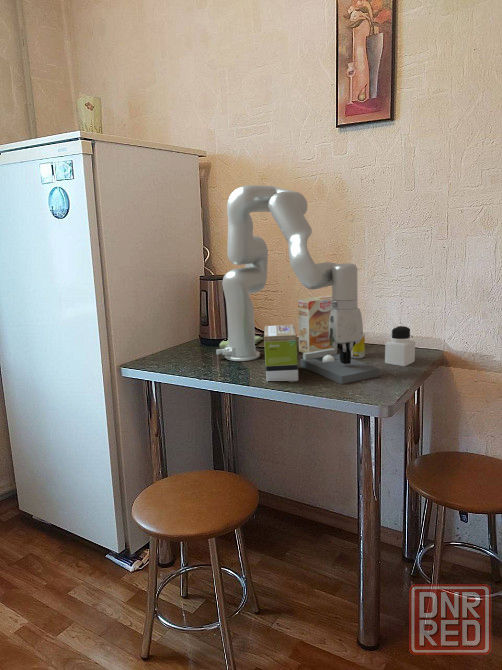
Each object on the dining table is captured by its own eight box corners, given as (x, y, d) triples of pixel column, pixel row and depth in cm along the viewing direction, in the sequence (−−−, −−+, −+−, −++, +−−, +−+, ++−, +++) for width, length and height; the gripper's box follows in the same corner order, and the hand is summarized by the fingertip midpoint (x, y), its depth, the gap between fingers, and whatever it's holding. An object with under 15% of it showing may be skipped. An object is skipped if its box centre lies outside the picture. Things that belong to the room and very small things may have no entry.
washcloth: (264, 341, 214) (264, 333, 213) (248, 351, 198) (247, 343, 197) (234, 339, 218) (234, 332, 218) (216, 350, 203) (216, 341, 202)
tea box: (265, 368, 173) (264, 324, 170) (296, 367, 173) (295, 323, 170) (265, 382, 159) (263, 335, 155) (299, 381, 158) (297, 333, 155)
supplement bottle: (367, 356, 182) (368, 327, 180) (357, 359, 179) (357, 330, 177) (355, 353, 186) (355, 325, 184) (344, 356, 183) (344, 328, 181)
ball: (318, 362, 173) (325, 371, 171) (321, 354, 170) (328, 363, 168) (328, 358, 175) (335, 367, 173) (331, 350, 172) (338, 359, 170)
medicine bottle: (414, 361, 173) (415, 326, 171) (404, 366, 168) (405, 330, 166) (395, 358, 178) (395, 324, 176) (384, 363, 173) (385, 327, 171)
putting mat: (341, 384, 154) (341, 329, 150) (300, 366, 174) (299, 317, 171) (379, 376, 160) (380, 323, 156) (335, 359, 180) (335, 312, 177)
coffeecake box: (309, 355, 187) (308, 301, 183) (298, 351, 193) (296, 299, 189) (342, 348, 194) (342, 296, 190) (330, 345, 200) (329, 294, 196)
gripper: (331, 309, 153) (332, 369, 157) (372, 303, 159) (372, 361, 163) (317, 306, 159) (318, 364, 163) (357, 300, 166) (357, 356, 170)
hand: (345, 363), depth 163 cm, fingers closed
